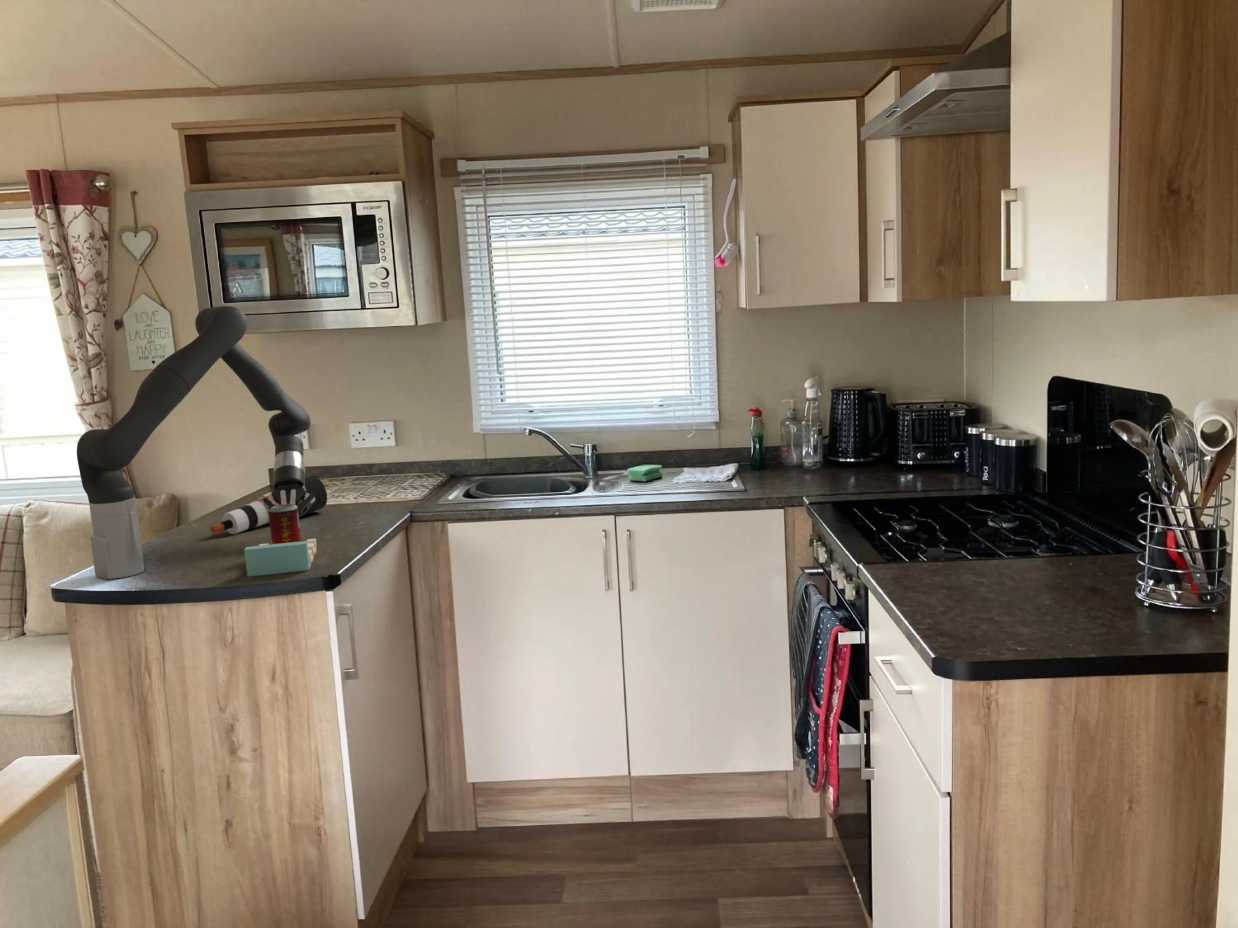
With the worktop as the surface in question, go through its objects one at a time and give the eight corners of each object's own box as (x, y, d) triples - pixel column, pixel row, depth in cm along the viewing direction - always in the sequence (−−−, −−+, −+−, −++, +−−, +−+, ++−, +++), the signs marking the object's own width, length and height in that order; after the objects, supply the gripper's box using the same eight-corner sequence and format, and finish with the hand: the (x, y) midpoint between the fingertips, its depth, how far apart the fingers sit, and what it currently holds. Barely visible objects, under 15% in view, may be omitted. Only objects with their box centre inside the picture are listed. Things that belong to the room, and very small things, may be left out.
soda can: (297, 548, 241) (292, 501, 240) (306, 553, 236) (301, 505, 234) (269, 553, 238) (264, 506, 236) (278, 558, 232) (272, 510, 230)
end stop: (249, 573, 220) (246, 546, 219) (310, 566, 223) (307, 540, 222) (247, 576, 217) (244, 549, 216) (308, 570, 220) (306, 543, 219)
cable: (213, 554, 261) (195, 520, 261) (314, 514, 288) (297, 483, 288) (230, 540, 255) (212, 505, 255) (332, 500, 282) (315, 469, 282)
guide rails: (260, 554, 237) (259, 544, 237) (316, 548, 240) (315, 538, 240) (248, 574, 219) (247, 563, 219) (309, 567, 222) (308, 557, 221)
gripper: (259, 466, 249) (258, 523, 239) (314, 461, 251) (315, 518, 241) (264, 483, 255) (263, 540, 245) (318, 479, 257) (319, 535, 247)
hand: (289, 529), depth 243 cm, fingers closed
